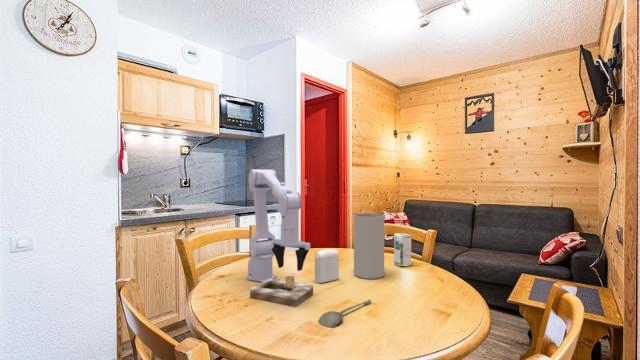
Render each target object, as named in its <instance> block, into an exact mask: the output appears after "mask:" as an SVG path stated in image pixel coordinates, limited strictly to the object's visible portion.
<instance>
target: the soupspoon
mask: <svg viewBox="0 0 640 360" xmlns="http://www.w3.org/2000/svg"><path fill="white" fill-rule="evenodd" d="M362 305H372V300H371V299H367V300H366V301H362V302H359V303H357V304H355V305H351V306H350V307H347V308H345V309H343V310H341V311H334V310H330V311H327V312H324V313H323V314H321V315H320V317H319V318H318V321H317V323H318V324H319V325H320V326H322V327H324V328H330V329H333V328H334V327H336V326H337V325H338V324H339V323H341V321H342V320H343V318H344V315H343V314H344V313H346V312H347V311H350V310H352V309H355V308H357V307H359V306H362Z"/></svg>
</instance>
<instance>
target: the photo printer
mask: <svg viewBox="0 0 640 360" xmlns="http://www.w3.org/2000/svg"><path fill="white" fill-rule="evenodd" d="M339 279H340V253H339V251H338V250H337V249H333V248H325V249H321V250H319V251H317V252H316V253H315V255H314V281H315V283H317V284H322V283H326V282H332V281H337V280H339Z"/></svg>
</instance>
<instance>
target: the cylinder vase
mask: <svg viewBox="0 0 640 360" xmlns="http://www.w3.org/2000/svg"><path fill="white" fill-rule="evenodd" d="M353 274H354V276H355V277H358V278H360V279H366V280H377V279H378V280H379V279H380V278H382V277H384V276H385V215H384V214H381V213H372V212H371V213H364V212H362V213H355V214H353Z"/></svg>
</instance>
